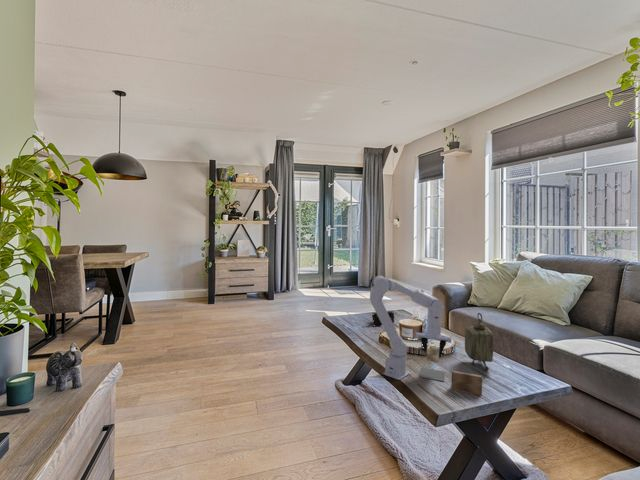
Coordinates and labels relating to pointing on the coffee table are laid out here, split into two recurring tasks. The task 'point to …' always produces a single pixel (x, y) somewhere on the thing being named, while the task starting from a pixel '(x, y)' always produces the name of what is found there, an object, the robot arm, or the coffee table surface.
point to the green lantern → (479, 342)
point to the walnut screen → (466, 382)
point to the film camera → (377, 320)
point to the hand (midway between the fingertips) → (433, 356)
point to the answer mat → (432, 374)
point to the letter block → (433, 353)
